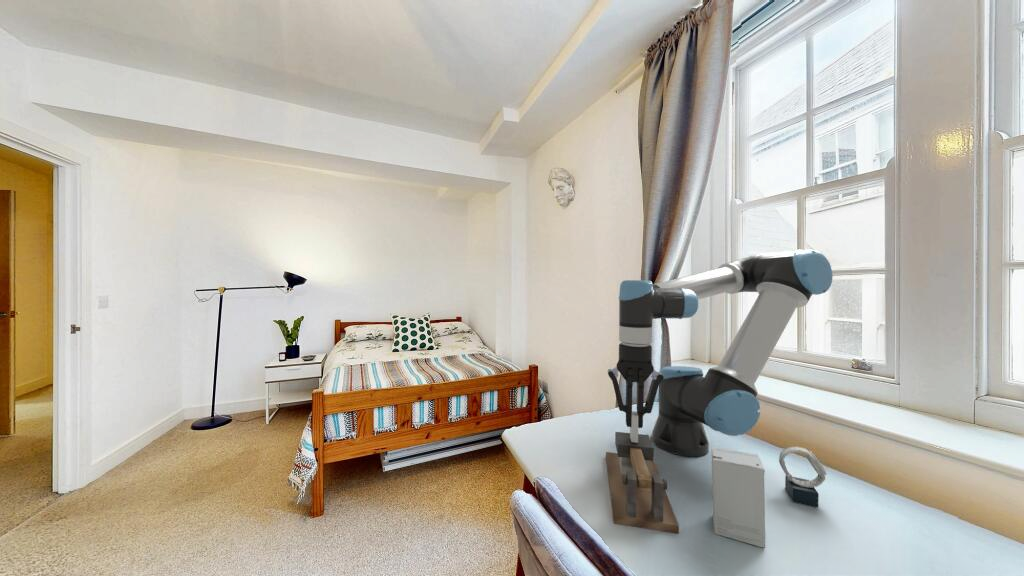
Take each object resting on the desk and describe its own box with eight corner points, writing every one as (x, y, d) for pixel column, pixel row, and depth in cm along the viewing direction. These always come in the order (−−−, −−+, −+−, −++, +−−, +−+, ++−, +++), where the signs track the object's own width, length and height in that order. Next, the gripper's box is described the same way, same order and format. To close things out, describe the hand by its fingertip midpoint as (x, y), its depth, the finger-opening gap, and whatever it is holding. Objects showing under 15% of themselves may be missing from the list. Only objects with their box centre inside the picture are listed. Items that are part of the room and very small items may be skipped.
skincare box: (760, 529, 65) (761, 454, 65) (766, 551, 60) (767, 469, 59) (710, 515, 69) (711, 444, 69) (711, 534, 64) (712, 457, 63)
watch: (830, 510, 70) (831, 459, 70) (782, 499, 74) (783, 450, 74) (819, 495, 76) (820, 447, 75) (775, 486, 79) (776, 440, 79)
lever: (648, 446, 85) (648, 434, 85) (666, 495, 65) (667, 480, 65) (615, 443, 86) (615, 431, 86) (623, 490, 67) (624, 475, 67)
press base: (652, 462, 89) (652, 429, 89) (678, 533, 64) (679, 487, 64) (605, 457, 92) (606, 424, 92) (613, 523, 66) (614, 478, 66)
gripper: (660, 342, 83) (659, 435, 83) (606, 339, 86) (605, 430, 86) (667, 347, 76) (666, 450, 76) (608, 345, 79) (607, 444, 79)
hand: (633, 439), depth 81 cm, fingers closed
